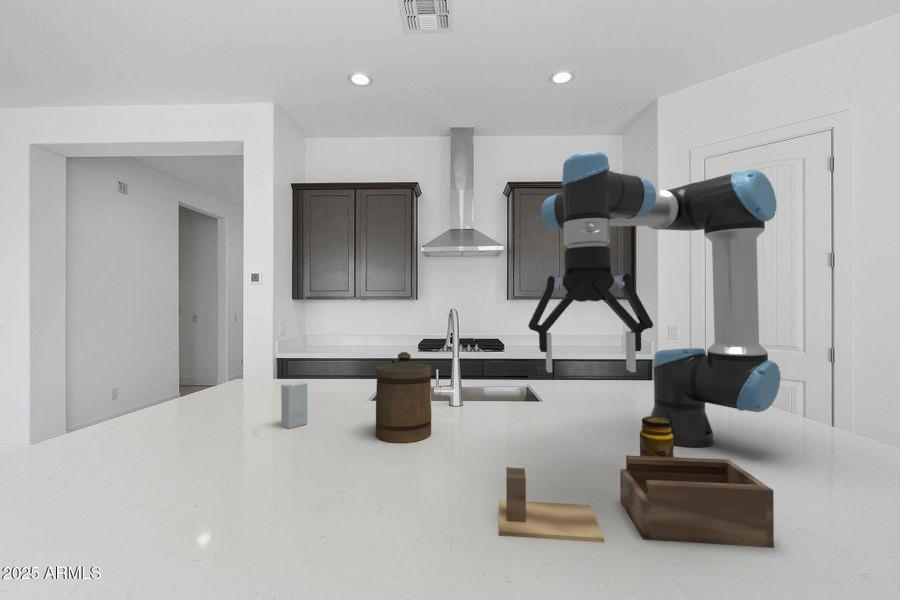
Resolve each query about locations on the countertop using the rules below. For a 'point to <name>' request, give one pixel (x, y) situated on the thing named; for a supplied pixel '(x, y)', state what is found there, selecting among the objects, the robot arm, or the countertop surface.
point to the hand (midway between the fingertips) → (589, 371)
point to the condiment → (656, 437)
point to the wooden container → (403, 401)
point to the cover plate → (543, 515)
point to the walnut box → (697, 501)
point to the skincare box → (294, 404)
